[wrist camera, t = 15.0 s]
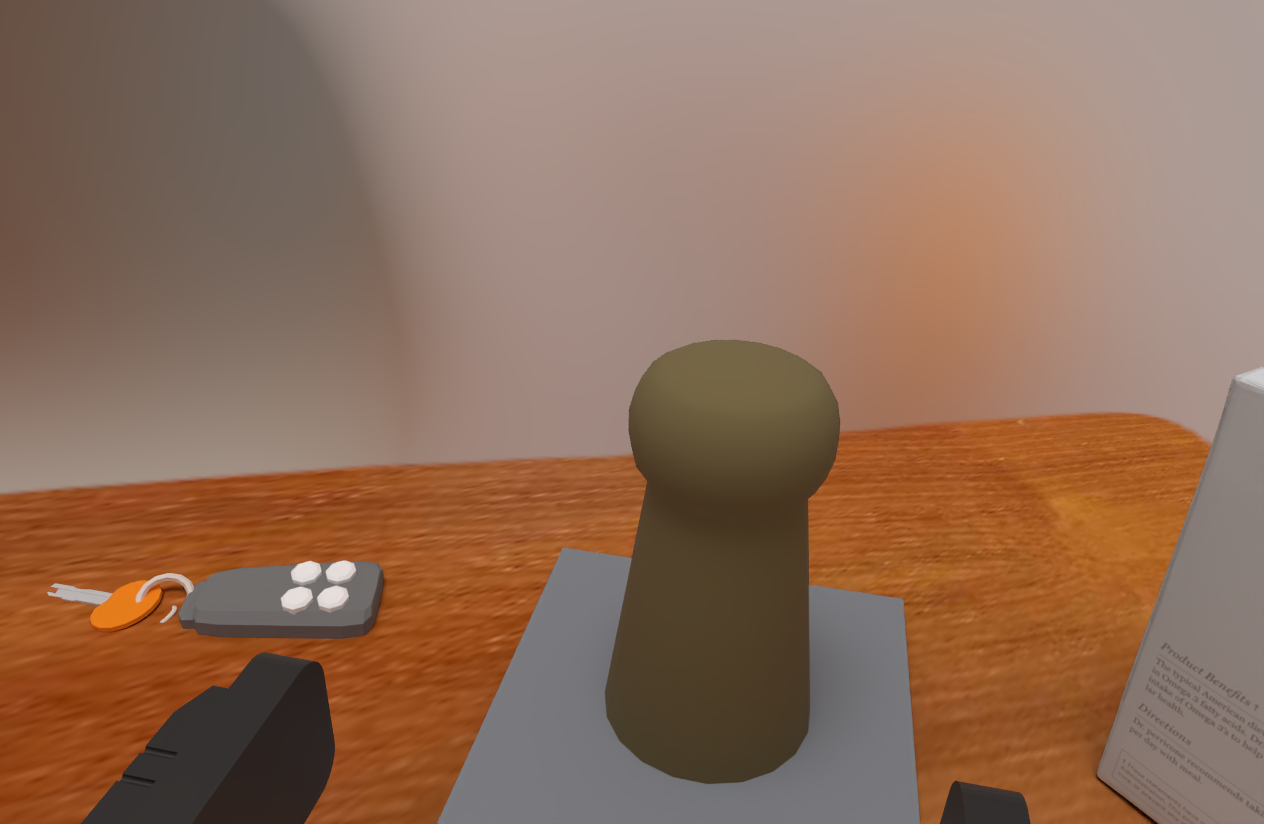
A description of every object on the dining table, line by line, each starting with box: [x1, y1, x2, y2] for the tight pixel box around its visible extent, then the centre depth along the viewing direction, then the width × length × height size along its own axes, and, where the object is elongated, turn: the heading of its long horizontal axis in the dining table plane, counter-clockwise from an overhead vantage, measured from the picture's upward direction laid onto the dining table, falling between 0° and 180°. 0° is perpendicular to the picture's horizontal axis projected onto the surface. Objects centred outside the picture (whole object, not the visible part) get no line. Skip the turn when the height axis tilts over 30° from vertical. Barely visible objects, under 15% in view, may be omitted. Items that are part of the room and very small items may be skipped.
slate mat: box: [437, 548, 920, 824], centre depth 28 cm, size 12×12×1 cm
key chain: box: [48, 560, 384, 639], centre depth 32 cm, size 13×4×2 cm, turn 95°
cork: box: [605, 340, 840, 784], centre depth 25 cm, size 6×6×11 cm
